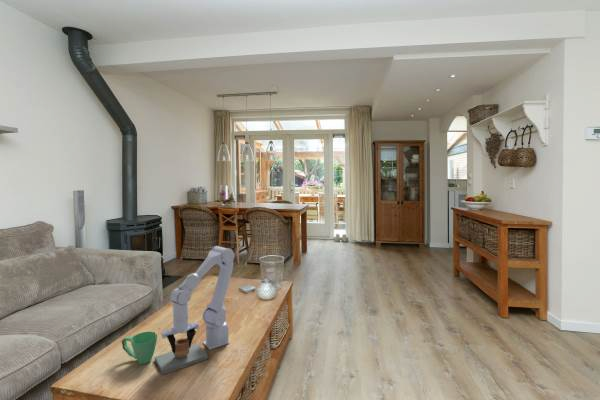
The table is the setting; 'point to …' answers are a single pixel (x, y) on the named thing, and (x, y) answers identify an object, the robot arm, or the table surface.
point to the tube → (181, 347)
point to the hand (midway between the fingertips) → (181, 349)
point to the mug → (141, 346)
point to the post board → (180, 359)
